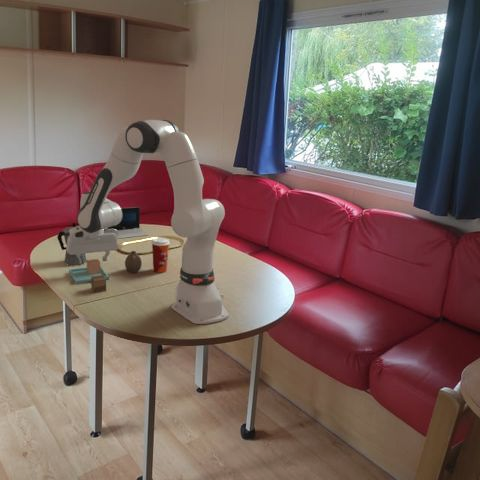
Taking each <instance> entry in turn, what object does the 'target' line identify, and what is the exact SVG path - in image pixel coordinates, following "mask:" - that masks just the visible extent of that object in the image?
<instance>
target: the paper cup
mask: <svg viewBox="0 0 480 480" xmlns="http://www.w3.org/2000/svg"><path fill="white" fill-rule="evenodd" d="M150 242H151V244H152V245H151V249H152V251H153V253H152V267H153V272H154V273H158V274H164V273H166V272H167V270H168V261H169V260H168V259H169V250H170V249H169V247H170V244H171V243H170V239H166V238H154V239H153V240H151V241H150Z"/></svg>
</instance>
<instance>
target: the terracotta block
mask: <svg viewBox="0 0 480 480" xmlns="http://www.w3.org/2000/svg"><path fill="white" fill-rule="evenodd" d="M86 260H87V262H86V267H87V272H88V273H89V275H92V274H100V266H101V261H100V260H99V258H90V259H86Z"/></svg>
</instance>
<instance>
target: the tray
mask: <svg viewBox="0 0 480 480" xmlns="http://www.w3.org/2000/svg"><path fill="white" fill-rule="evenodd" d="M68 272H69V275H70V274H71V275H70V277H71V276H72V277H71V278H73V279H72V281H74V284H75V283H76V284H75V285H80V284H79V283H82V284H89V282H90V283H91V276H98V275H103V276H104V277H105V278H106V281H109V280H110V276H109V275H108V273H107V272H106V270H105V269H104V268H103V266H102V265H100V274H92V275H89V273H88V272H87V266H86V267H78V268H70V269H68Z"/></svg>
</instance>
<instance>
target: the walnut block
mask: <svg viewBox="0 0 480 480" xmlns="http://www.w3.org/2000/svg"><path fill="white" fill-rule="evenodd" d="M90 284H91V290H92V291H93V293H100V292H101V293H102V292H107V280H106V278H105V277H104V276H103V275H98V276H91V282H90Z"/></svg>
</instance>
